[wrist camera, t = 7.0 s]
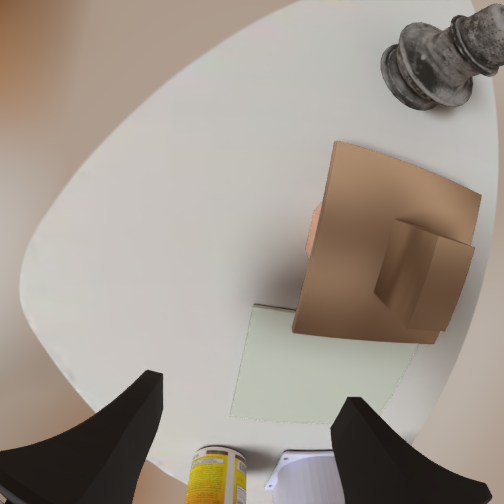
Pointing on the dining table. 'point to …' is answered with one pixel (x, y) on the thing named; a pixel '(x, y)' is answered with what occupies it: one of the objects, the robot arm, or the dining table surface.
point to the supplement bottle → (217, 477)
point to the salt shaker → (444, 59)
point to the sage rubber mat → (311, 372)
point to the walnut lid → (386, 251)
